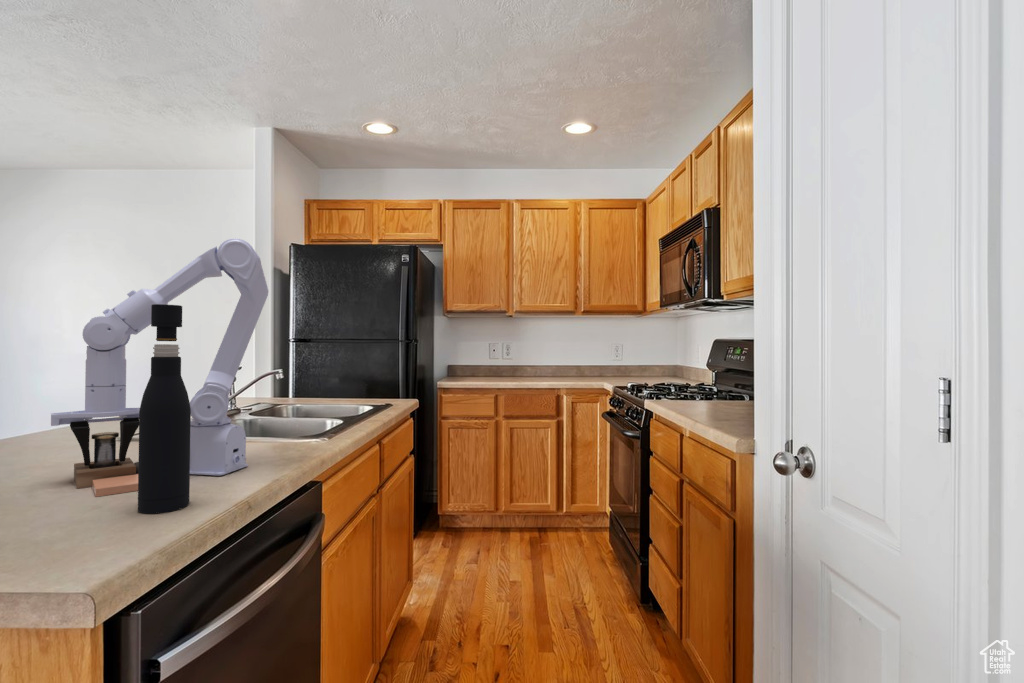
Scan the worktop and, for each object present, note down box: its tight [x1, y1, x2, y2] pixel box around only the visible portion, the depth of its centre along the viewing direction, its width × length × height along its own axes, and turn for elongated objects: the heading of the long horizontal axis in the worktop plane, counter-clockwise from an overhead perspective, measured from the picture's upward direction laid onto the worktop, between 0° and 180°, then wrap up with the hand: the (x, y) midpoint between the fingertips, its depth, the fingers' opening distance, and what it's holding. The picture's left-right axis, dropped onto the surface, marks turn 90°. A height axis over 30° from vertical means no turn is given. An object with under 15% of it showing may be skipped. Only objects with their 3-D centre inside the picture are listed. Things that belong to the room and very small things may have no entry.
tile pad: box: [91, 474, 138, 497], centre depth 88 cm, size 7×7×1 cm
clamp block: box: [73, 457, 139, 490], centre depth 94 cm, size 9×10×2 cm
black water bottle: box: [137, 304, 192, 515], centre depth 78 cm, size 6×6×30 cm
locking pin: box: [91, 431, 120, 469], centre depth 93 cm, size 4×4×8 cm
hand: (104, 462), depth 93 cm, fingers open, 4 cm apart
